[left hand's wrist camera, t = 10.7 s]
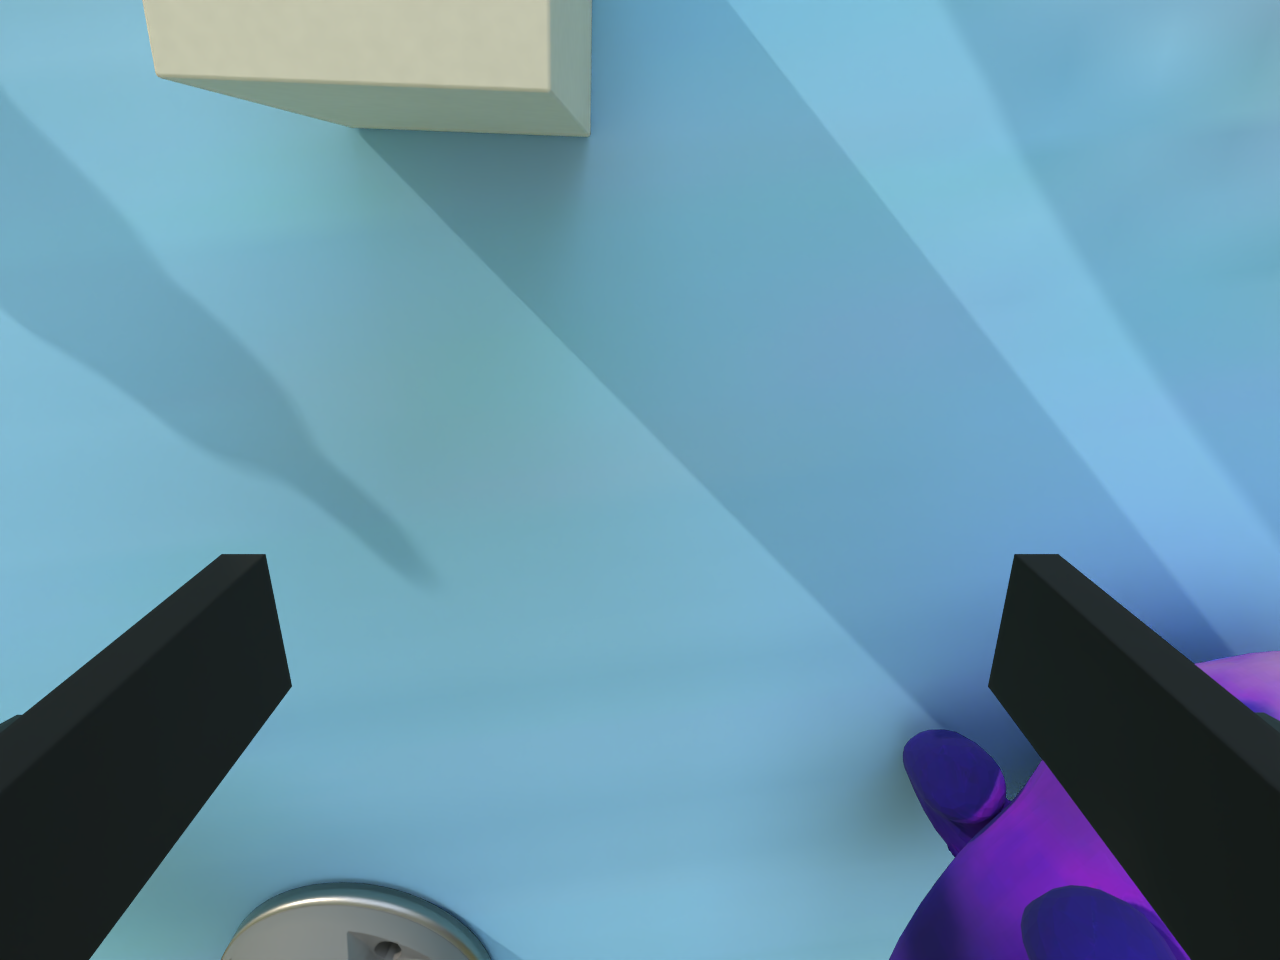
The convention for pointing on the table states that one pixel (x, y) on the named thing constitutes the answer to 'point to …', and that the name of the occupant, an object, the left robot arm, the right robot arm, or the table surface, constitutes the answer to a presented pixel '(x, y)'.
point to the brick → (388, 60)
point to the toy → (1037, 855)
